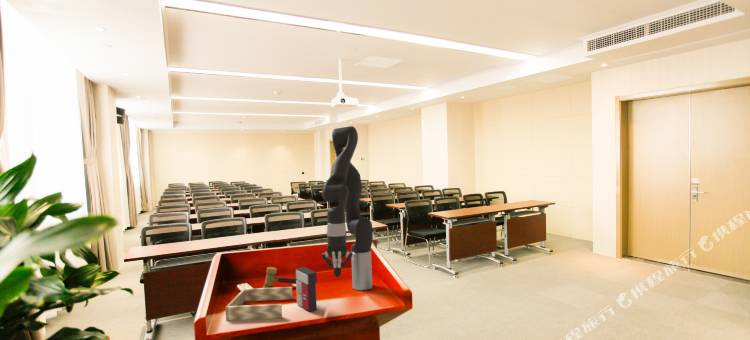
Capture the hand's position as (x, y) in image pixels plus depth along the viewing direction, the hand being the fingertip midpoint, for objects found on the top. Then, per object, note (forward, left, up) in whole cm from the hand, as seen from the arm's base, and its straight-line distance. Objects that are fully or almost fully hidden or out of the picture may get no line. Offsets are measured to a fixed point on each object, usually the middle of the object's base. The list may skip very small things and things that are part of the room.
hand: (337, 276), depth 152 cm
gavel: (+27, -24, -14) cm, 39 cm away
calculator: (+13, 0, -12) cm, 18 cm away
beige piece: (+31, 0, -12) cm, 33 cm away
